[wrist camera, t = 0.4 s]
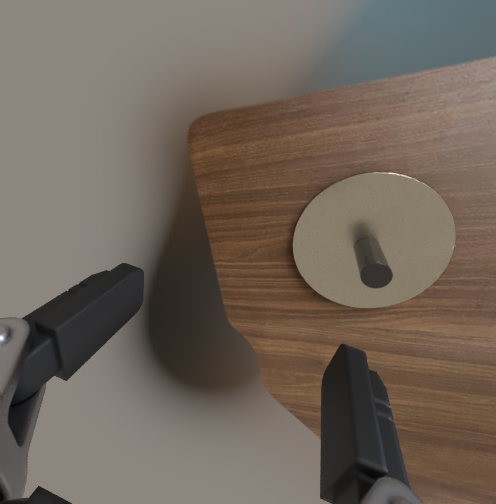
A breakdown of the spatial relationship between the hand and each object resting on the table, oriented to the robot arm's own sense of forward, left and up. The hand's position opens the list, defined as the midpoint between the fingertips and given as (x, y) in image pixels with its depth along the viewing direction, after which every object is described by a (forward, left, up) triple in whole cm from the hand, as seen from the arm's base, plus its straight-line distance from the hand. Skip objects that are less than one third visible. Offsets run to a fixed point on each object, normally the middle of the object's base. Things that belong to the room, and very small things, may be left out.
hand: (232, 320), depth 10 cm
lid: (+2, +9, -19) cm, 21 cm away
